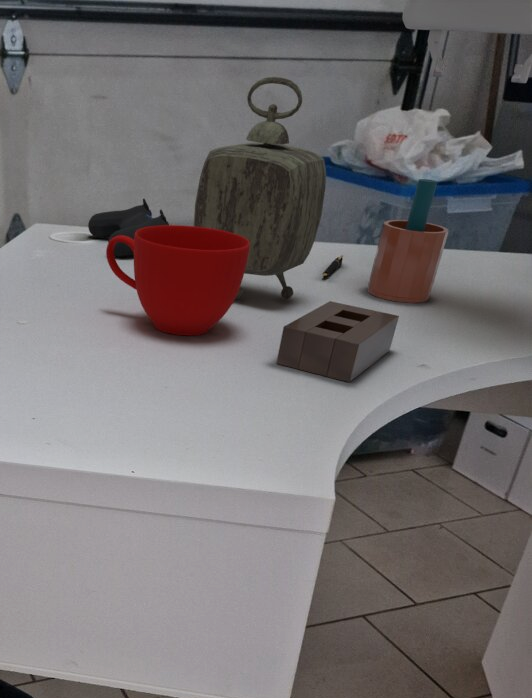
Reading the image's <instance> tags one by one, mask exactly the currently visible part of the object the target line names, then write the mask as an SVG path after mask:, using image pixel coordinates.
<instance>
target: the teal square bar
mask: <svg viewBox="0 0 532 698" xmlns="http://www.w3.org/2000/svg"><path fill="white" fill-rule="evenodd" d="M437 186H438V180H434V179H429V178H428V179H427V178H419V179H418V180H417V184H416V187H415V188H416V189H415V192H414V196H413V199H412V204H411V207H410V211H409V215H408V219H407V220H408V222H407V226H406V230H412V231H421V232H424V229H425V226H426V223H428V222H427V221H428V218H429V215H430V212H431V207H432V203H433V201H434V197H435V193H436V189H437Z"/></svg>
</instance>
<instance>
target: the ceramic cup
mask: <svg viewBox="0 0 532 698" xmlns="http://www.w3.org/2000/svg"><path fill="white" fill-rule="evenodd" d="M117 242H123V243H125V244H127V245H128V246H129V247H130V248H131V249H132V251H133V253H134V254H133V275H134V278H132V277H131V276H129V275H128V274H127V273H126V272H124V271H123V270H122V268H120V266H119V264H118V262H117V260H116V256H114V246H115V244H116V243H117ZM249 248H250V242H249V241H248V240H247V239H246V238H244V237H242V236H240V235H237V234H234V233H231V232H227V231H222V230H217V229H211V228H204V227H195V226H194V225H181V224H180V225H179V224H169V225H161V226H150V227H145V228H141V229H139V230H137V231H136V232H135V237H134V240H133V239H132V238H130V237H128V236H124V235H119V236H116V237H114V238H112V239H111V240H110V242H109V243H108V242H107V245H106V251H105V252H106V253H105V255H106V259H107V264H108V266H109V268H110V270H111V272H112V273H113V274H114V275H115V276H116V278H118V279H119V280H120V281H122V282H123V283H124V284H126V285H127V286H129V287H131V288H132V289H134V290H136V292H137V297H138V300H139V302H140V305H141V307H142V309H143V311H144V312H145V314H146V315H147V317H148V318H149V320H150V321H151V322H152V324H153V327H154V328H155V329H157V330H159V331H161V332H164V333H166V334H171V335H177V336H200V335H203V334H207V333H209V332H210V329H212V327H214V326H216V324H217V323H218V322H219V321H220V320H221V319H222V318H223V317H224V316H225V315H226V314H227V313H228V311H229V309H230V308H231V307H232V305H233V304H234V302H235V300H236V299H235V298H236V296H237V293H238V291H239V288H240V287H241V286H242V282H243V278H244V276H245V274H244V272H245V268H246V264H247V259H248V254H249Z"/></svg>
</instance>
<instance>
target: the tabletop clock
mask: <svg viewBox="0 0 532 698" xmlns="http://www.w3.org/2000/svg"><path fill="white" fill-rule="evenodd" d="M269 84H275V85H282V86H286V87H288V88H290V89H292V91H293V92H294V93H295V94H296V96H297V104H296V105H295V107H294V108H292V109H291V110H289V111H284V112H278V106H277V104H276V103H275V104H274V103H272V104H270V105H268V109H267V110H263V109H261V108H259V107H257V106H255V104H254V103H253V102H252V96H253V93H254V92H255V91H256V90H257V89H258V88H260V87H261V86H265V85H269ZM246 100H247V105H248V107H249V108H250V110H251V111H252V113H254V114H256V115H257V116H259V117H262V118H265V119H266V120H263V121H259V122H257V123H256V124H255V125H253V127H252V128H251V129H250V130H249V131H248V134H247V136H246V139H245V140H247V142H246V143H241V144H233V145H226V146H219V147H217V148H214V149H212V150H210V151H209V152H208V154H207V156H206V158H205V160H204V163H203V165H202V168H201V172H200V176H199V182H198V187H197V192H196V197H195V203H194V213H193V214H194V215H193V216H194V217H193V226H195V227H204V228H211V229H217V230H222V231H227V232H231V233H234V234H237V235H240V236H242V237H244V238H246V239H247V240H248V241H249V242H250V248H249V254H248V259H247V264H246V268H245V272H244V275H253V276H263V277H269V276H276V278H277V279H278V281H279V283H280V285H281V288H282V289H281V291H280V295H281V297H282V298H283V299H285V300H288V299H291V298H292V297H293V295H294V289H293V287H291V286H289V285H287V282H286V278H285V272H287V271H289V270H292V269H294V268H296V267H299V266H301V265H303V264H304V263H305V262H306V261H307V258H308V257H309V255H310V253H311V251H312V249H313V246H314V243H315V240H316V237H317V234H318V230H319V226H320V223H321V219H322V214H323V208H324V201H325V196H326V195H325V194H326V185H327V184H326V183H327V170H326V162H325V159H324V158H323V157H322V156H320V155H319V154H317V153H316V152H313V151H311V150H309V149H305V148H301V147H297V146H292V145H288V144H290V139H289V134H288V130H287V128H286V127H285V126H284V125H283V124H282V123H279V122H277V121H276V120H282V119H287V118H289V117H292V116H293V115H295V114H296V113H298V112H299V110H300V108H301V107H302V105H303V94H302V91H301V89H300V87H299V86H298V84H296V83H295V82H294V81H293V80H291V79H288V78H284V77H279V76H267V77H264V78H261V79H259V80H257V81H256V82H255V83H254V84H253V85H252V86H251V87H250V88H249V91H248V93H247V99H246ZM242 295H243V288H242V287H241V286H240V288H239V291H238V293H237V296H236V298H235V300H237V299H240V298H241V297H242Z"/></svg>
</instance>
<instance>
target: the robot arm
mask: <svg viewBox="0 0 532 698" xmlns="http://www.w3.org/2000/svg"><path fill="white" fill-rule="evenodd" d="M401 17H402V18H401V19H402V22H403V24H404V26H405V28H406V29H409V30H420V31H429V33H428V37H427V45H428V49H429V53H430V57H431V59H432V60H431V65H430V69H429V77H433V78H445V76H446V73H447V67H448V65H449V59H443V57H442V51H441V47H440V43H444V42H445V39H446V35H447V32H464V33H466V32H468V33H487V34H508V35H509V34H510V35H529V36H532V0H405V2H404V7H403V11H402V16H401ZM531 70H532V53H531V54H530V55H529V56H528V57H527V59H526V60H525V61H524V63H522V64H521V63H520V64H519V63H515V65H514V69H513V75H511V80H510V82H511V83H518V84H526V83H527V82H528V79H529V77H530V74H531Z"/></svg>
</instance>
